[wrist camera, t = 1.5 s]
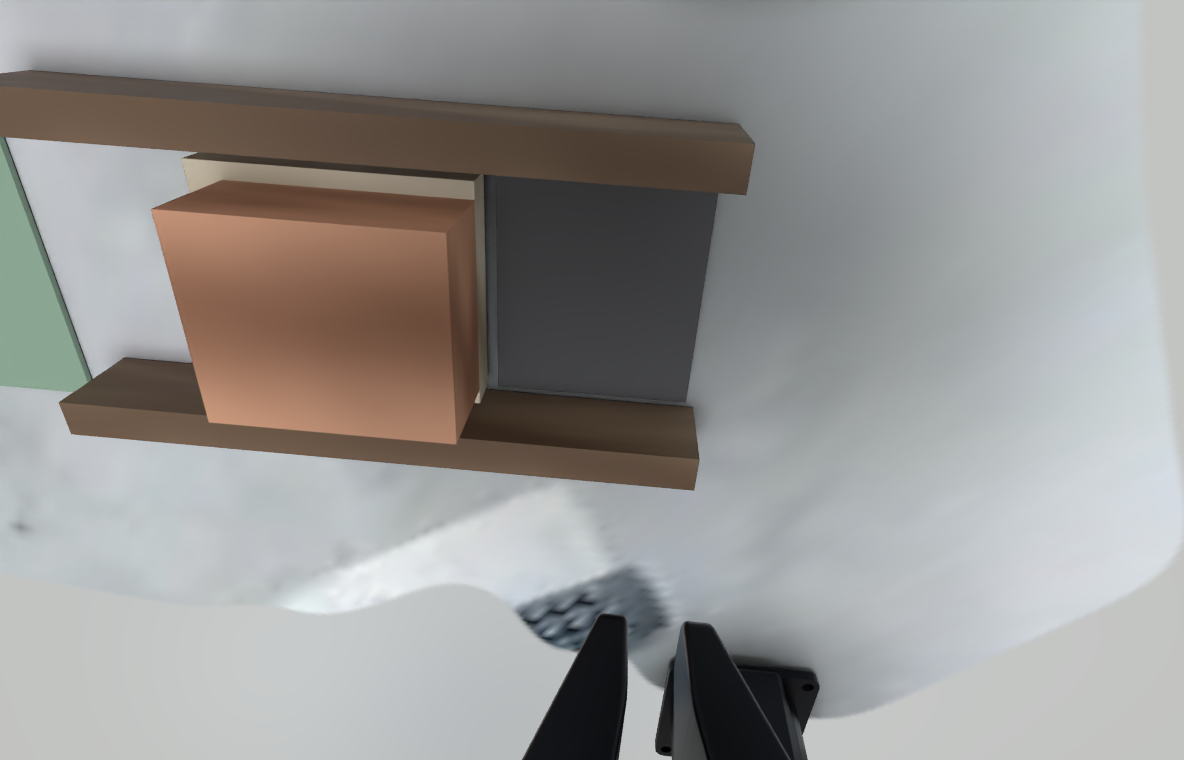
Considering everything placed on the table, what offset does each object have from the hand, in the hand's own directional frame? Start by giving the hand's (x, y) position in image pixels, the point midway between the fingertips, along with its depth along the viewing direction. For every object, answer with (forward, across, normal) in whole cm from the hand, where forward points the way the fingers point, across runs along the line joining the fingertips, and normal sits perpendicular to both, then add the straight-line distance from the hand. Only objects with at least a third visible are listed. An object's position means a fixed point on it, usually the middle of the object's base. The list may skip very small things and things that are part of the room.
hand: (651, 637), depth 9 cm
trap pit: (+13, +2, 0) cm, 13 cm away
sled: (+13, +9, 0) cm, 16 cm away
